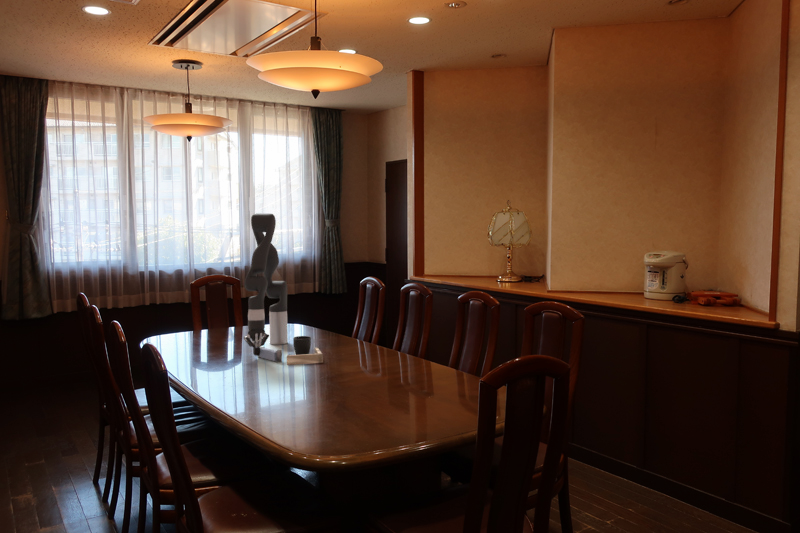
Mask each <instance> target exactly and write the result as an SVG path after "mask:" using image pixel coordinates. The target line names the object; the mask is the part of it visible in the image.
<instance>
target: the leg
mask: <svg viewBox="0 0 800 533" xmlns="http://www.w3.org/2000/svg"><path fill="white" fill-rule="evenodd" d="M276 350H277V349H276ZM276 350H275V349H271V348H267V347H265V346H261V347H260V354H259V355H258V356H256V357H257V358H262V359H265V360H269V361H272V362H277V358H276Z"/></svg>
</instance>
